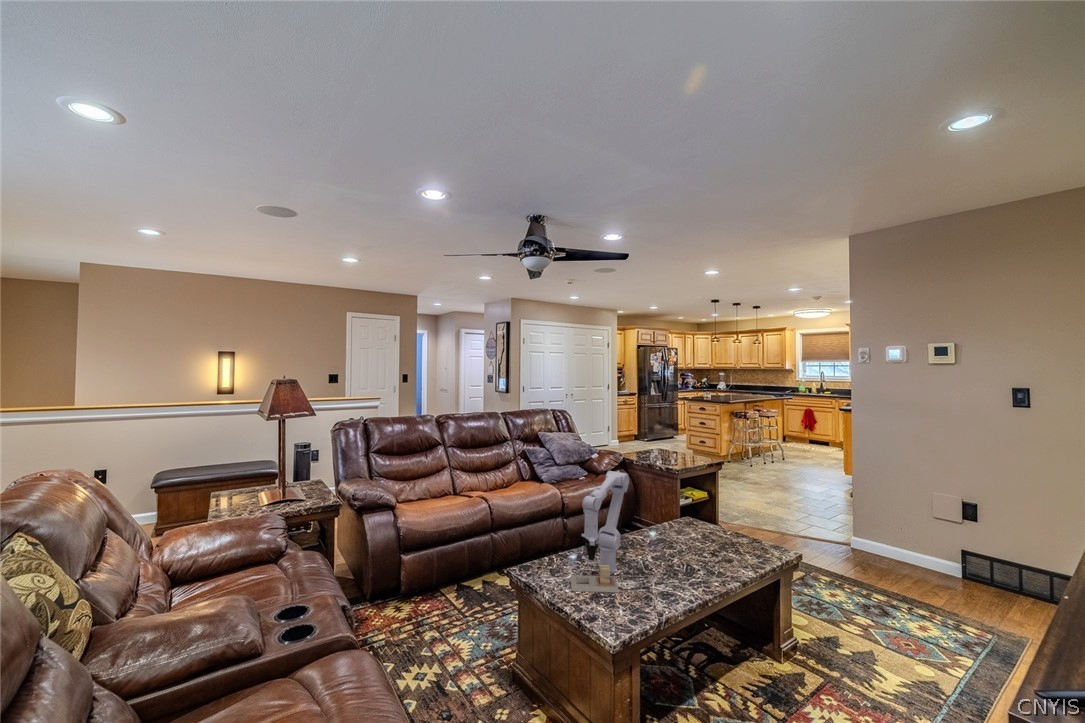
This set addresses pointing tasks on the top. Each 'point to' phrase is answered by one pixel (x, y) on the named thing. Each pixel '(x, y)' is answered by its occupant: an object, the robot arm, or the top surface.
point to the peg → (604, 574)
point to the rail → (592, 584)
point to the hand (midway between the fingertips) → (590, 556)
